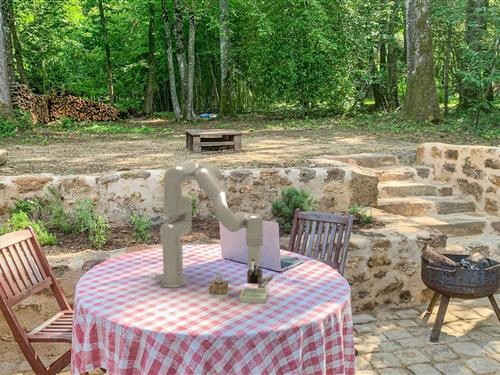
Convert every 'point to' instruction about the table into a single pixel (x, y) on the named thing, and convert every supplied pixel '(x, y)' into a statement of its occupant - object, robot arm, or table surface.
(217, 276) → the pin
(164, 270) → the robot arm
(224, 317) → the table surface
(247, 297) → the tray
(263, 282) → the caliper
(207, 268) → the table surface
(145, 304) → the table surface
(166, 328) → the table surface
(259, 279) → the block
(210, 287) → the brown hex nut
